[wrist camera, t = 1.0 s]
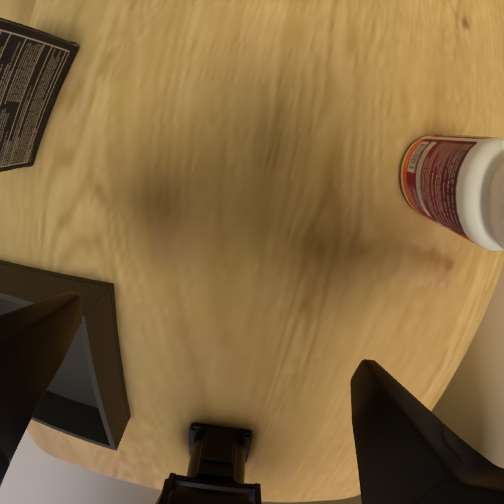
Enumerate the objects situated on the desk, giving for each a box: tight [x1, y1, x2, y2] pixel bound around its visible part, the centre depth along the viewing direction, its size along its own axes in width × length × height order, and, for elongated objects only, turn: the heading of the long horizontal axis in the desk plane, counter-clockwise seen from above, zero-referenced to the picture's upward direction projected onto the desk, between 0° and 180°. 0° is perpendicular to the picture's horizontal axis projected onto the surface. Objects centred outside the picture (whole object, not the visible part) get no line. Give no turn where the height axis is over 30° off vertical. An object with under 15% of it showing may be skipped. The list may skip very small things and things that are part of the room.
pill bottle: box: [401, 135, 504, 251], centre depth 15 cm, size 6×6×11 cm
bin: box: [0, 260, 130, 450], centre depth 23 cm, size 16×16×5 cm
